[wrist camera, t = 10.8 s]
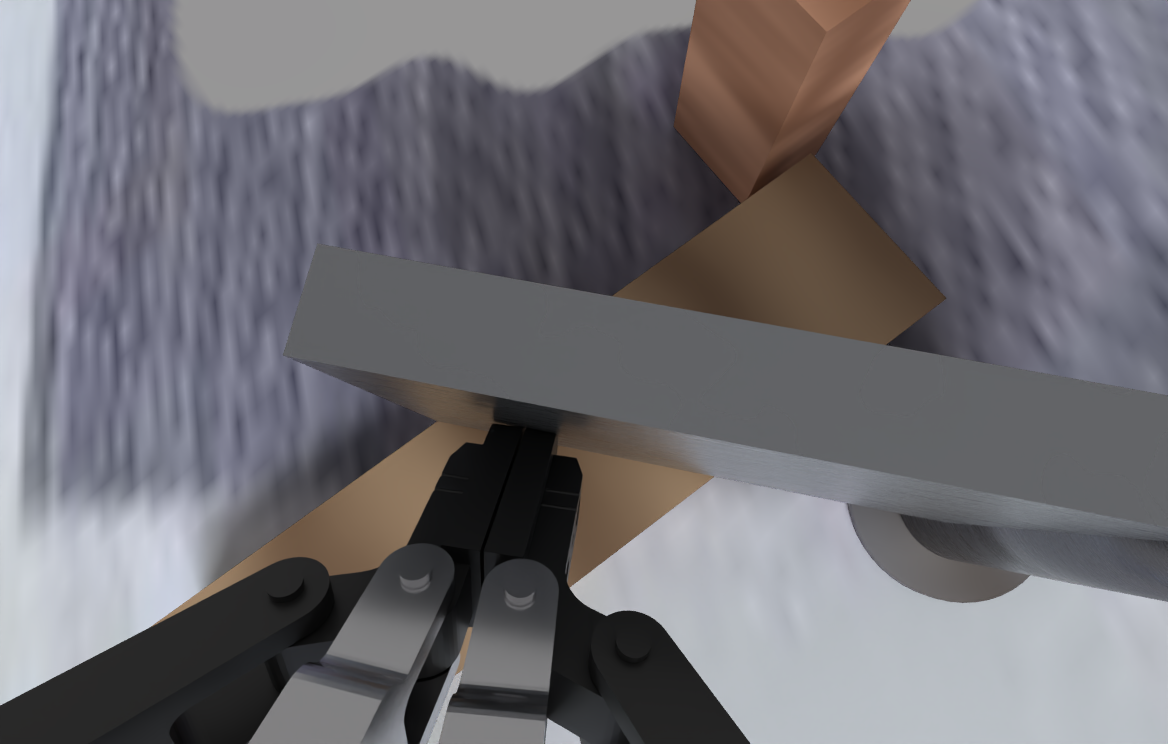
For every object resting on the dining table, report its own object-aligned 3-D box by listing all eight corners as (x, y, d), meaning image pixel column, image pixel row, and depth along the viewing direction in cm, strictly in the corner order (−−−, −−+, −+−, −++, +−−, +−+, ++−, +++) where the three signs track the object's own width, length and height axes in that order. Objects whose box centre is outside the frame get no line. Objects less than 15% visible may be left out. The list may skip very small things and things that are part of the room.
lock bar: (1021, 452, 18) (1552, 399, 8) (1015, 573, 17) (1586, 684, 7) (476, 349, 19) (333, 190, 9) (450, 457, 19) (264, 414, 9)
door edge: (744, 77, 22) (820, -157, 14) (1125, 487, 18) (1511, 482, 10) (138, 497, 19) (-178, 499, 12) (444, 1057, 16) (288, 1595, 8)
